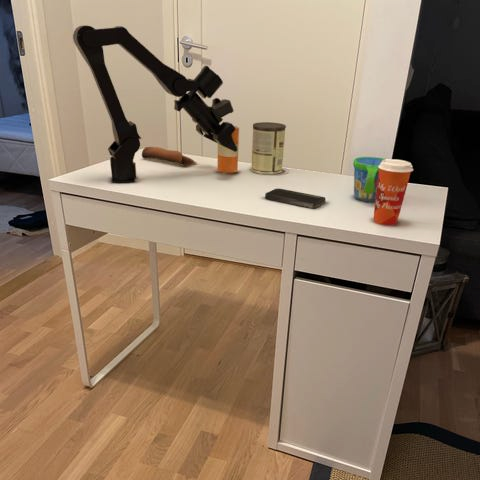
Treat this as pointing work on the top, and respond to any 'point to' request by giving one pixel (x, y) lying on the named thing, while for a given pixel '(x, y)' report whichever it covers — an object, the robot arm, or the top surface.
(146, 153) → the brown elongated rounded bar
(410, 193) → the top surface
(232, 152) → the juice can
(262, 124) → the coffee can
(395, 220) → the paper cup
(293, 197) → the phone
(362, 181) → the snack cup
